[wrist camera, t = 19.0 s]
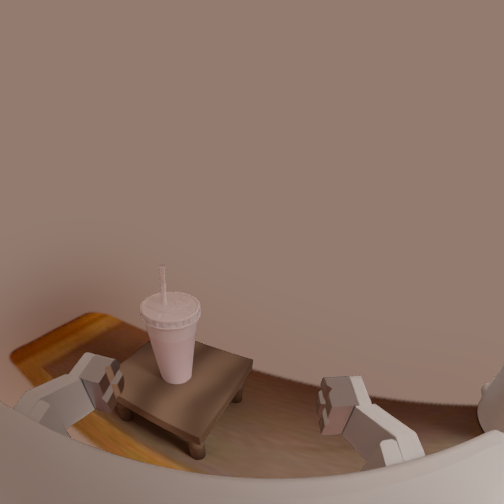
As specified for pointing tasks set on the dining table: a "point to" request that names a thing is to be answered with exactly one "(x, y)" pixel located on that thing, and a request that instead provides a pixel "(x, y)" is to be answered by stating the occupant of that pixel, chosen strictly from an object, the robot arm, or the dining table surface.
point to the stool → (183, 392)
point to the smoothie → (171, 330)
